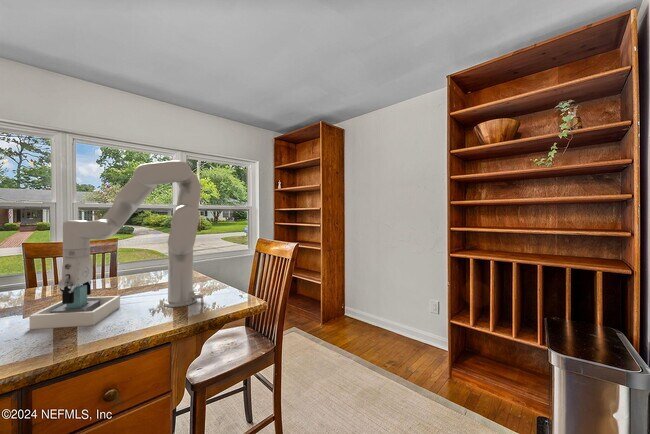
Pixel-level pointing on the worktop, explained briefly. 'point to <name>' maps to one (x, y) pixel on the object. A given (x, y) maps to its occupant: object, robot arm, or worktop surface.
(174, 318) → the worktop surface
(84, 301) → the peg
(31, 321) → the walled box
